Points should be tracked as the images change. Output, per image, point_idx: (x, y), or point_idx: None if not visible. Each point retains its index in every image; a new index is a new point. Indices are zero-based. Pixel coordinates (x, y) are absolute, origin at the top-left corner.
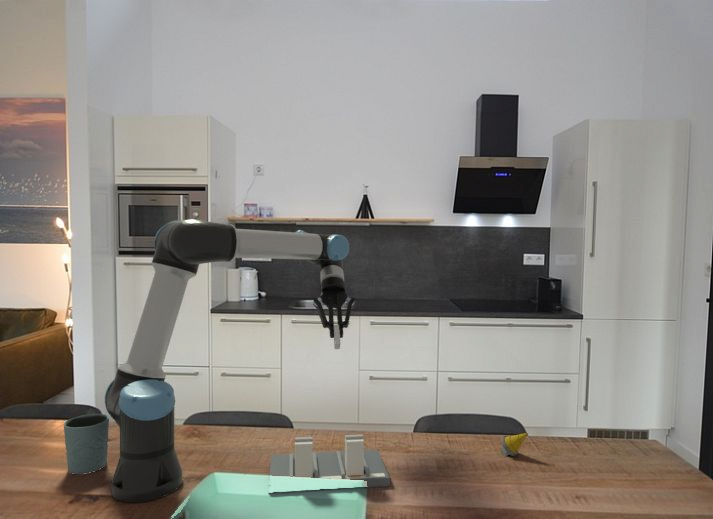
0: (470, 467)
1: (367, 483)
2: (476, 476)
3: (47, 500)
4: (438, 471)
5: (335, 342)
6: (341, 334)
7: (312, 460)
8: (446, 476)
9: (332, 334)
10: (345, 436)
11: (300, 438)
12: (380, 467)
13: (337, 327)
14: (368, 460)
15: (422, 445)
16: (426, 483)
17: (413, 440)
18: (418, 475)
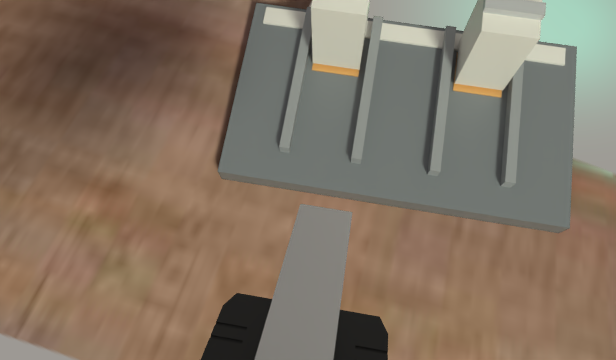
0: (5, 47)
1: None
2: (25, 3)
3: None
4: (100, 50)
5: (347, 221)
6: (249, 303)
7: (471, 14)
8: (96, 22)
9: (360, 320)
10: (367, 7)
11: (527, 3)
12: (257, 57)
13: (282, 352)
14: (274, 106)
15: (43, 218)
16: (165, 5)
17: (48, 266)
18: (162, 45)
